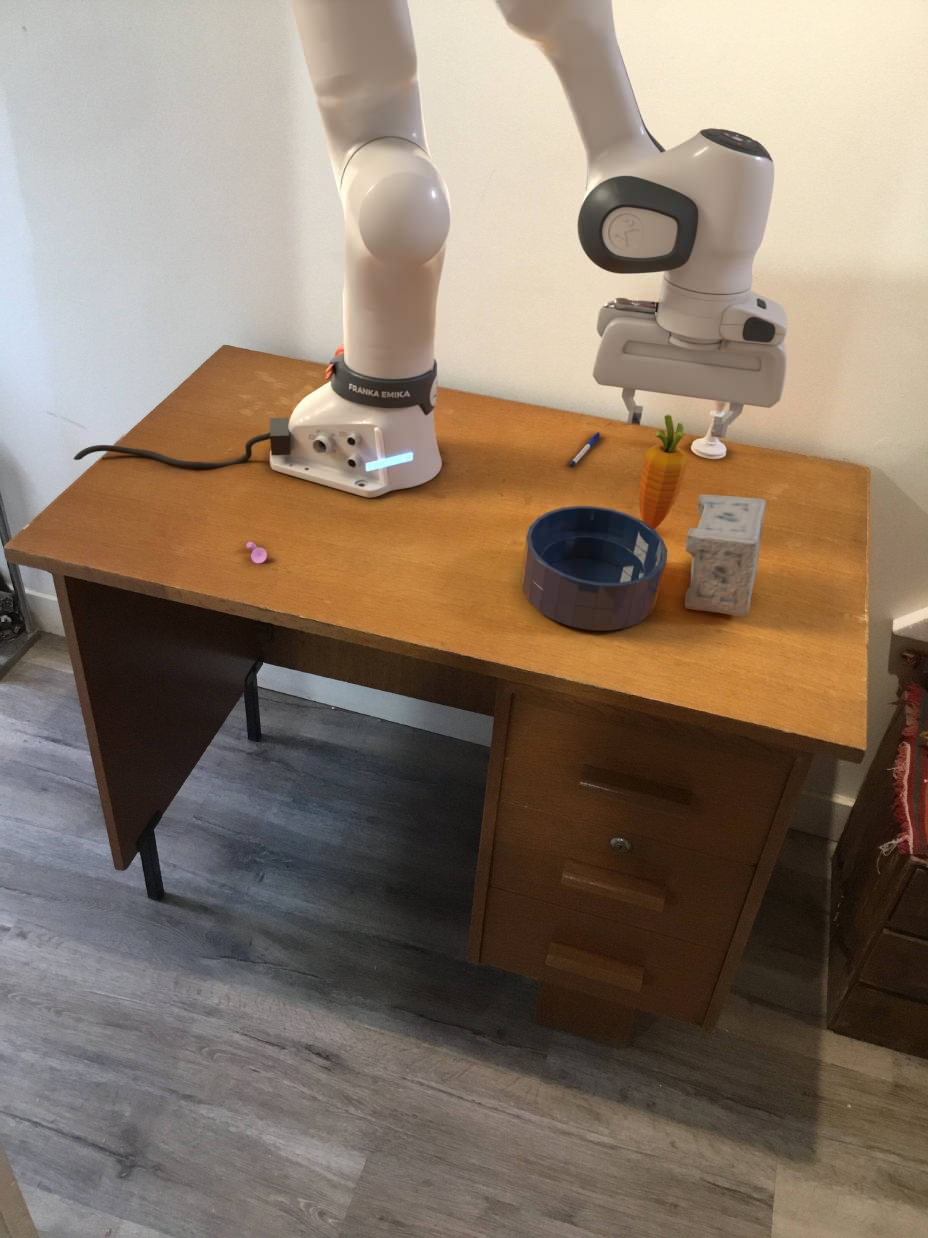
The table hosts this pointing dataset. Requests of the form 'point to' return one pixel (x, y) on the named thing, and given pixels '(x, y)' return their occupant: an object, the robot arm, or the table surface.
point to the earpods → (257, 553)
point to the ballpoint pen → (585, 449)
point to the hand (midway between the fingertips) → (675, 429)
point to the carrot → (661, 475)
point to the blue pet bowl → (593, 567)
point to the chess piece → (711, 438)
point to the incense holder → (724, 553)
